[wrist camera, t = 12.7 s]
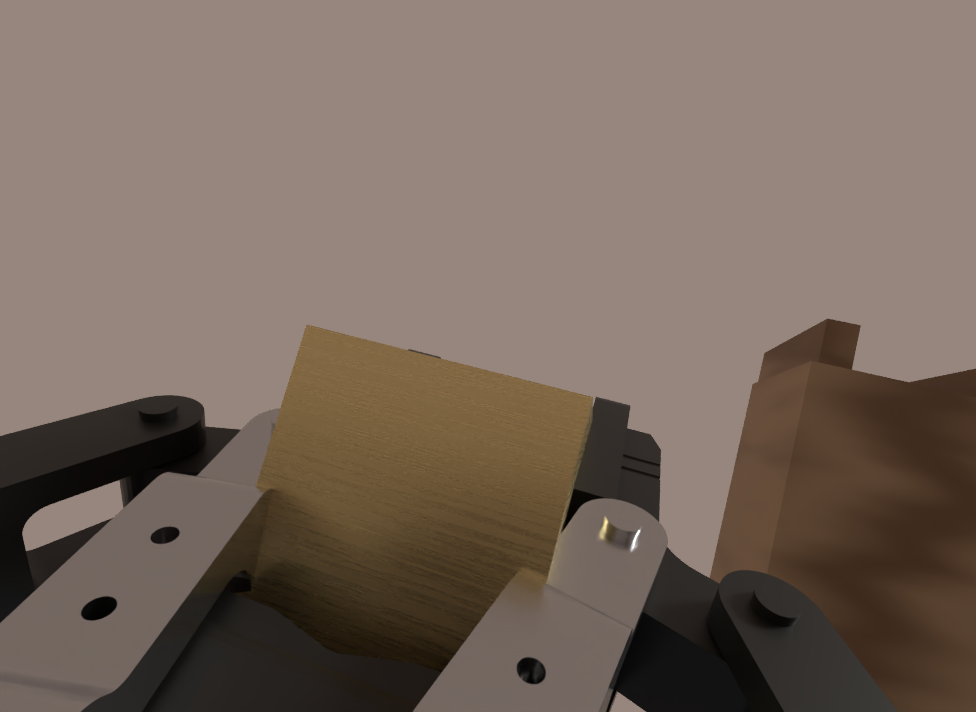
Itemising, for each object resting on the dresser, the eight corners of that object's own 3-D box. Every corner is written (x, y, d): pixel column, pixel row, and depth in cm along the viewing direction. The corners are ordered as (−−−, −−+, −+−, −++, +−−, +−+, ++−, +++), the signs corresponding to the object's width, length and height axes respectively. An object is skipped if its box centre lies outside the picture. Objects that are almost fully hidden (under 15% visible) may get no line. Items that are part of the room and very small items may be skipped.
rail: (568, 528, 20) (592, 435, 21) (508, 734, 6) (593, 397, 6) (478, 501, 21) (502, 411, 22) (214, 617, 6) (306, 324, 7)
